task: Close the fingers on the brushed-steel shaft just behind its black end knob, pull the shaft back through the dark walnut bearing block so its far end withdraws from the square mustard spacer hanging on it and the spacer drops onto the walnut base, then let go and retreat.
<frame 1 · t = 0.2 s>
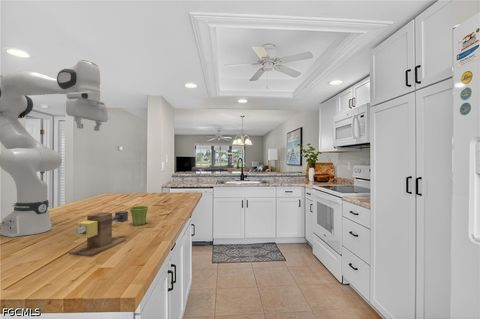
hand: (88, 129, 111), 47 cm above the countertop, tool pointing down, fingers open, 8 cm apart
stand: (99, 246, 98), on the countertop
spacer: (87, 235, 92), point 6 cm above the countertop, touching shaft
plant pot: (139, 224, 133), on the countertop
shaft: (103, 222, 100), point 9 cm above the countertop, slide at 0.0 cm, touching spacer
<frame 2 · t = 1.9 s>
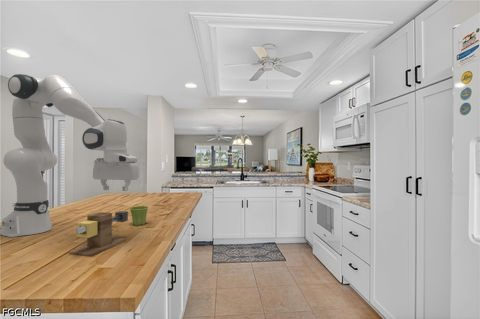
hand: (115, 190, 106), 21 cm above the countertop, tool pointing down, fingers open, 8 cm apart
nothing on the countertop moved.
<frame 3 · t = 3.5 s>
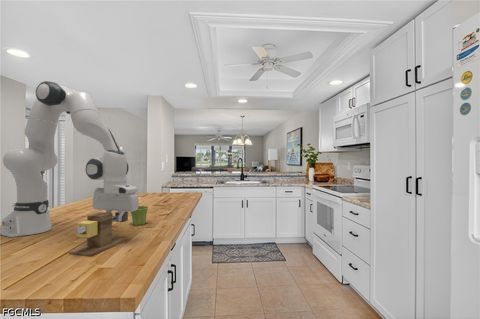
hand: (115, 220, 107), 8 cm above the countertop, tool pointing down, fingers closed on shaft, 2 cm apart
shaft: (103, 222, 100), point 9 cm above the countertop, slide at 0.0 cm, touching gripper, spacer
everything else where it was.
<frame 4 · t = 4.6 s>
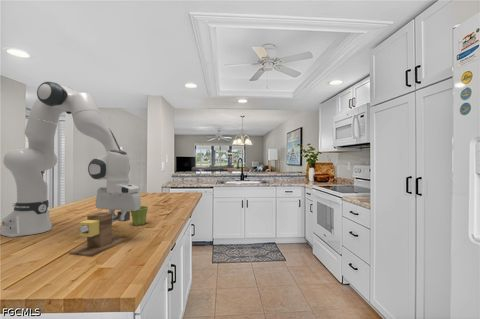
hand: (117, 219, 108), 8 cm above the countertop, tool pointing down, fingers closed on shaft, 2 cm apart
shaft: (106, 221, 102), point 9 cm above the countertop, slide at 1.4 cm, touching gripper, spacer
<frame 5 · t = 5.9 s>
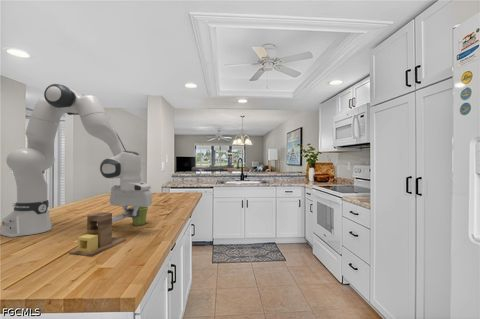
hand: (130, 215, 116), 8 cm above the countertop, tool pointing down, fingers closed on shaft, 2 cm apart
spacer: (88, 249, 93), point 1 cm above the countertop, touching stand
shaft: (118, 217, 109), point 9 cm above the countertop, slide at 8.6 cm, touching gripper
everything else where it was.
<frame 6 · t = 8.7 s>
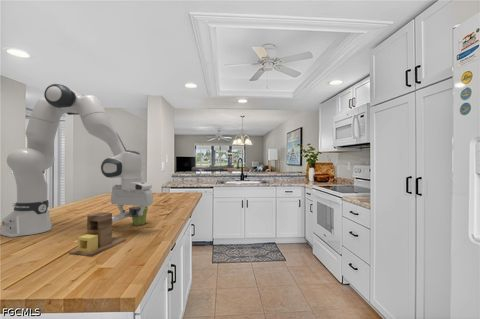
hand: (131, 214, 117), 8 cm above the countertop, tool pointing down, fingers open, 8 cm apart
shaft: (119, 217, 109), point 9 cm above the countertop, slide at 9.4 cm
everything else where it was.
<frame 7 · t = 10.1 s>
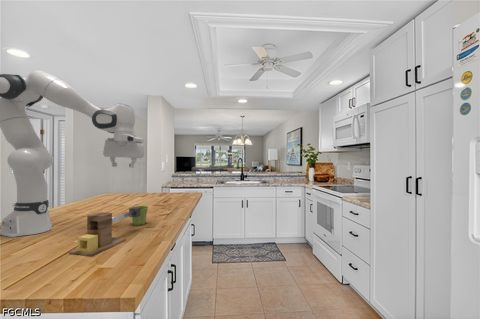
hand: (122, 167, 121), 30 cm above the countertop, tool pointing down, fingers open, 8 cm apart
nothing on the countertop moved.
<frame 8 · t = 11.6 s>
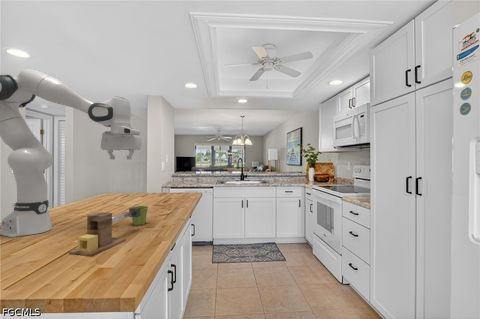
hand: (120, 159, 121), 34 cm above the countertop, tool pointing down, fingers open, 8 cm apart
nothing on the countertop moved.
at the end: spacer point 0.8 cm above the countertop; shaft slide at 9.4 cm; spacer touching stand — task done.
